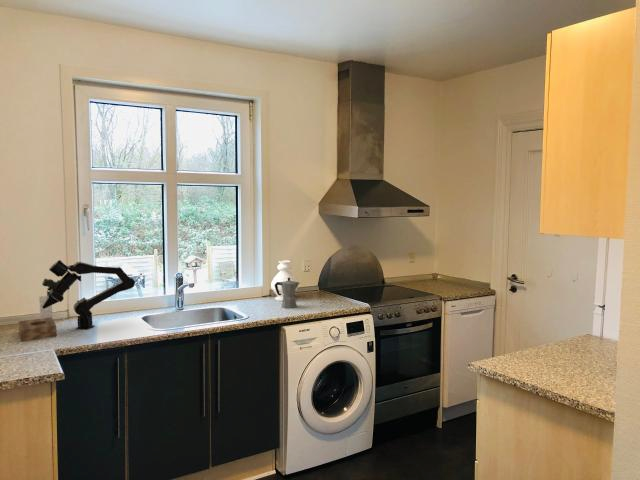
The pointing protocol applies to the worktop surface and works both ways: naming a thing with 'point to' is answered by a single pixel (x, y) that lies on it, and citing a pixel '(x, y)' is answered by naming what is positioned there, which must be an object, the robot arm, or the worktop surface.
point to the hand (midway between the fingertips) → (42, 307)
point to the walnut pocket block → (37, 329)
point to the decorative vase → (282, 277)
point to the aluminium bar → (47, 311)
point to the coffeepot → (288, 293)
